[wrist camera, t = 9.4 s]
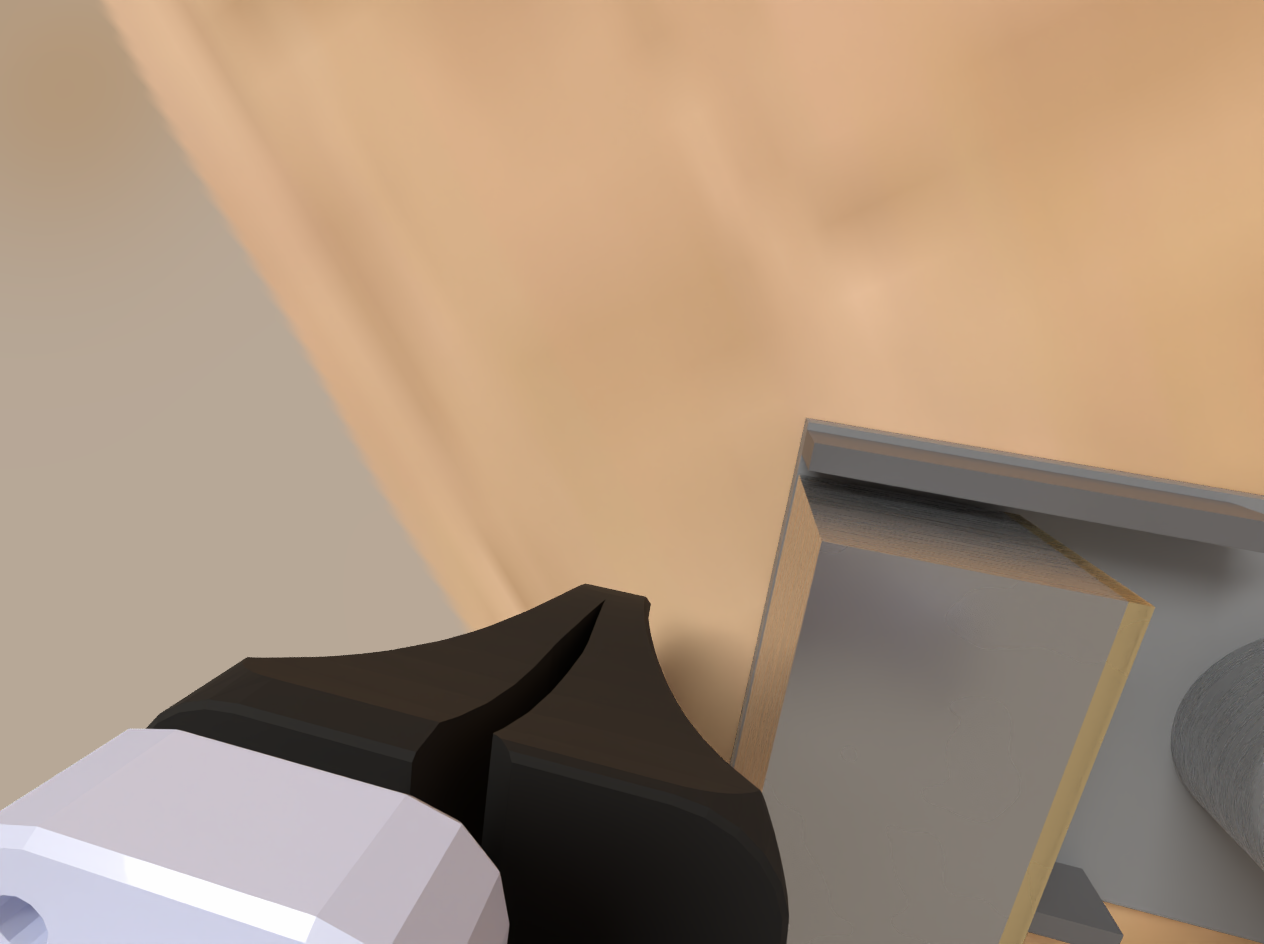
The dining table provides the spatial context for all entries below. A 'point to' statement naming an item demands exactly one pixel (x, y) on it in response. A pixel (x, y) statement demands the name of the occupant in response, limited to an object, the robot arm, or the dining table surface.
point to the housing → (1226, 745)
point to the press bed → (1159, 678)
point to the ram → (928, 713)
